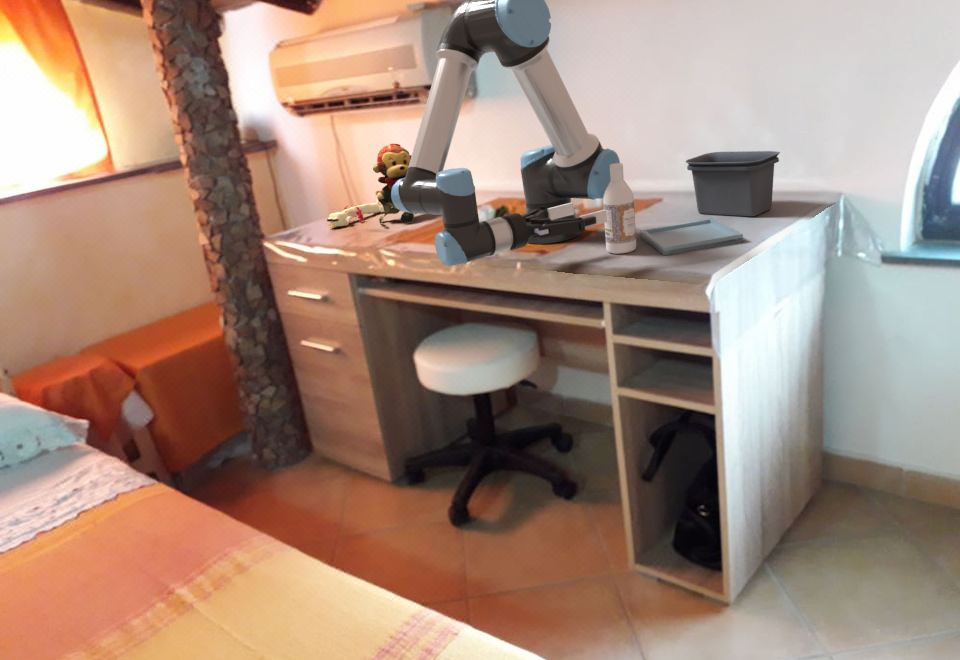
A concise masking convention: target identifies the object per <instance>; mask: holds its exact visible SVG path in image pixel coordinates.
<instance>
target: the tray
mask: <svg viewBox="0 0 960 660" xmlns="http://www.w3.org/2000/svg"><path fill="white" fill-rule="evenodd" d="M640 239H642V240H644V241H645V242H646V243H648V245H650V246H651V247H652V248H653V249H655V250H657V251H658V252H659V253H660V254H662V255H663V256H669V255H674V254H681V253H686V252H692V251H698V250H704V249H705V250H706V249H710V248H715V247H716V248H717V247H723V246H726V245H732V244H733V245H734V244H738V243H743V242H744V235H743V233H742V232H739V231H737V229H736V230H735V228H734V229H733V228H732V227H730V226H728V225H726V224H724V223H722V222H721V221H718V220H717V219H715V218H713V217H711V218H705V219H698V220H693V221H687V222H682V223H675V224H669V225H664V226H658V227H652V228H646V229H641V230H640Z"/></svg>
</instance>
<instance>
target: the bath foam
mask: <svg viewBox="0 0 960 660" xmlns="http://www.w3.org/2000/svg"><path fill="white" fill-rule="evenodd" d="M624 176H625V175H624V164H623V163H621V162H620V163H614V164H611V165H610V178H611V181H610V183H609V185H608V187H607V188H606V191H605V193H604V197H603V199H602V205H603V206H602V207H603V209H602V210H606V214H607V222H606V223H603V224H604V234H605V235H604V236H605V249H606V251H607V252H609V253H610V254H617V255H620V254H626V253H628V254H629V253H631V252H633V251H635V250H636V249H637V232H636V229H637V228H636V214H635V199H634V194H633V192H632V189H631V188H630V186H629V185H628V183H627V182H626V181H625V179H624Z"/></svg>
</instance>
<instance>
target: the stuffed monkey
mask: <svg viewBox="0 0 960 660" xmlns="http://www.w3.org/2000/svg"><path fill="white" fill-rule="evenodd" d="M411 156H412V154H410V152H409V151H408V150H407V149H405V147H402V144H399V143H390V144H387V145H385V146H383V147H382V148H381V149H380V150H379V152H378V154H377V158H376V164H374V166H373V167H372V169H373V171H374V173H377V174H379V173H380V174H381V175H382V176H380V177H378V179H377V182H379V184H380V183H381V184H384V187H382V188H381V190H379V191H380V192H379V193H378V195H376V198H377V199H378V201H379V203H380V204H381V205H382V206H383V208H384V211H383V212H384V215H381V216H380V217H379V219H378V221H379V224H381V223H382V222H383V221H384V220H385V216H387V215H395V214H398V213H399V212H401V211H400V210H399V209H397V208H396V207H395V205H394V204H393V202H392V198H391V191H392V187H393V185H394V184H395V183H396V182H397V181H398V180H399V179H402V178H405V177H406V174H407V171H408V167H409V163H410V160H411ZM377 199H376V200H377ZM415 215H417V214H412V213H408V212H403V213H402V214H401V216H400V219H399V221H400V222H404V223H410V224H411V223H413V222H415V221H414V220H415Z"/></svg>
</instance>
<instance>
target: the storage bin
mask: <svg viewBox="0 0 960 660" xmlns="http://www.w3.org/2000/svg"><path fill="white" fill-rule="evenodd" d="M780 153H781V152H780V151H774V150H762V151H761V150H760V151H759V150H757V151H756V150H755V151H753V150H752V151H746V150H745V151H744V150H743V151H715V152H713V151H712V152H707V153H703V154H701V155H697V156H694V157H692V158H689V159H687V160H685V163H686V164H687V167H686V168H687V170H688V171H691V175H692V180H693V188H694V193H695V200H696V205H697V206H696V207H697V212H698V213H699V214H701V215H717V216H718V215H719V216H720V215H721V216H737V217H739V216H740V217H757V216H758V215H761V214H763V213H765V212H767V211H769V210H771V209H772V205H773V203H772V202H773V188H774V176H775V175H774V174H775V164H777V163H779V162H780V159H779V157H778V156H779V154H780Z"/></svg>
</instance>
